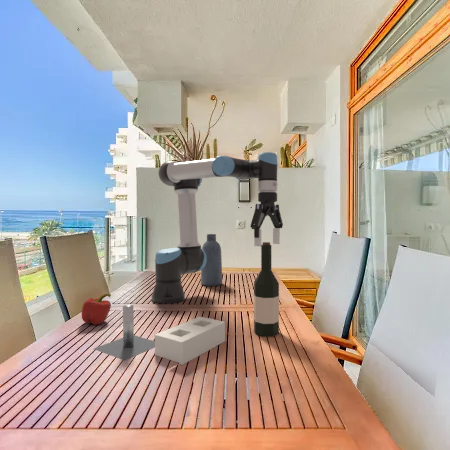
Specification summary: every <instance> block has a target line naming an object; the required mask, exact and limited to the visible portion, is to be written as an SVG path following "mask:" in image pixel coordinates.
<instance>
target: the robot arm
mask: <svg viewBox="0 0 450 450" xmlns="http://www.w3.org/2000/svg"><path fill="white" fill-rule="evenodd" d="M278 165H279V164H278V154H276V153H275V152H272V151H271V152H270V151H267V152H266V151H265V152H260V153H259V154H258V156H257V159H251V160H249V159H248V160H246V159H241V158H237V157H232V156H228V155H217V156H216V157H215V158H208V159H207V158H206V159H201V160H199V159H198V160H193V161H183V162H179V161H176V160H174V161H169V160H168V161H165V162H163V163H162V164H161V165H160V166H159V168H158V178H159V180H160V181H161V182H162V183H163V184H164V185H166V186H168V187H169V186H170V187H173V189H174V192H175V194H176V195H177V205H178V207H177V208H178V223H179V227H178V228H179V242H180V243H179V244H178V245H177V247H170V248H164V249H160V250H158V251H156V253H155V258H154V263H155V265H154V267H155V284H154V287H153V292H152V294H151V302H154V303H158V304H174V303H179V302H183V301H184V300H185V298H186V294H185V291H184V288H183V284H182V275H187V274H195V273H198V272H201V270H202V269H203V268H204V266H205V264H206V260H207V257H206V253H205V252H204V250H203V249H202V244H201V243H199V240H198V224H197V223H198V222H197V205H196V204H197V203H196V193H197V192H198V191H199V187H200V186H201V183H202V182H203V179H209V178H224V177H225V178H226V177H230V178H235V179H237V180H250V179H252V180H253V179H258V180H257V181H258V183H257V185H258V186H257V191H258V193H257V195H258V196H257V198H258V200H257V201H258V202H259V203H255V207H254V212H253V217H252V219H251V221H250V222H251V223H250V228H251V230H253V231H254V232H253V237H254V238H253V239H254V240H253V241H254V247H261V245H262V229H261V228H262V225H263V223H264V221H265V218H266V217H267V216H268V217H269V219H270V220H271V223H272V225H273V227H272V244H274V245H280V243H281V242H280V241H281V240H280V237H281V235H280V234H281V233H280V229H282V228H283V226H284V224H283V219H282V215H281V212H280V205H279V204H278V203H277V204H275V203H276V202H278V192H277V191H278Z"/></svg>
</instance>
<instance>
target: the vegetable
mask: <svg viewBox="0 0 450 450" xmlns="http://www.w3.org/2000/svg"><path fill="white" fill-rule="evenodd" d="M111 296H112V295H111V293H104V294H103V295H100V296H99V298H93V297H90V298H88V299H87V300H85V301H84V303H83V305H82V308H81V320H82V321H83V322H84V323H86V324H92V325H94V326H95V325H96V326H97V325H98V326H99V325H102V324H103V323H104V322H105V321H106V320H107V318H108V315H109V313H110V310H111V307H112V304H111V301H110V300H104V299H105V298H106V297H108V298H110V297H111Z"/></svg>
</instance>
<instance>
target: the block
mask: <svg viewBox="0 0 450 450" xmlns="http://www.w3.org/2000/svg"><path fill="white" fill-rule="evenodd" d="M154 341H155V347H154V356H158V357H161V358H163V359H167V360H169V361H173V362H176V363H177V364H179V365H182V366H183V365H185V364H187V363H189V362H190V361H193V360H194V359H195V358H198V357H200V356H201V355H203V354H204V353H206V352H208V351H210V350H212V349H214V348H215V347H218V346H219V345H221V344H223V343H224V342H226V321H222V320H217V319H213V318H209V317H203V316H198V317H195V318H193V319H191V320H188V321H186V322H183V323H181V324H178V325H176V326H173V327H170V328H168V329H166V330H163V331H160V332H158V333H156V334H154Z"/></svg>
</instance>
